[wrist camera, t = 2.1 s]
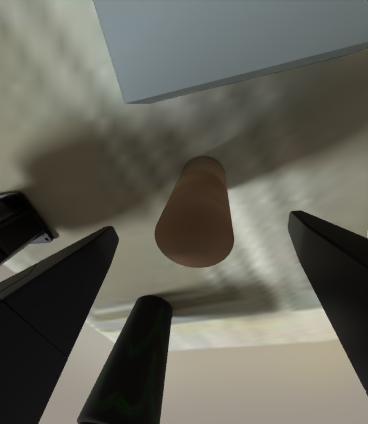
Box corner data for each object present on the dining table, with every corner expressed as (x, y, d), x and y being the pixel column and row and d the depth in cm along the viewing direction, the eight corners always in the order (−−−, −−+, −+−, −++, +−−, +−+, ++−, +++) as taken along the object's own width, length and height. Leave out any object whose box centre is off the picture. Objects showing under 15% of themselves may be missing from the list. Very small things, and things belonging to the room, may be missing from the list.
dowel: (186, 199, 16) (165, 268, 9) (177, 159, 14) (144, 209, 8) (226, 194, 15) (235, 266, 9) (223, 152, 13) (231, 201, 7)
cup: (180, 324, 28) (160, 450, 18) (133, 317, 29) (90, 432, 19) (178, 294, 24) (152, 435, 14) (125, 287, 25) (63, 414, 15)
